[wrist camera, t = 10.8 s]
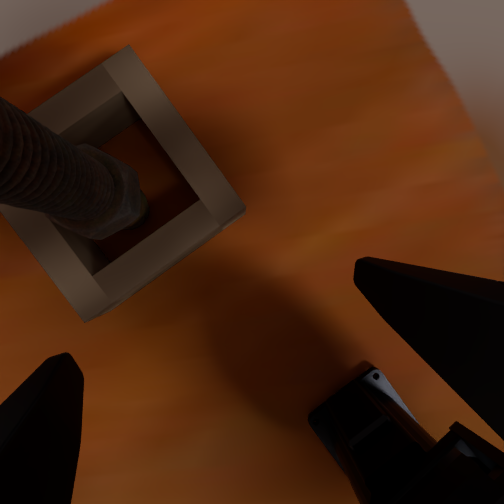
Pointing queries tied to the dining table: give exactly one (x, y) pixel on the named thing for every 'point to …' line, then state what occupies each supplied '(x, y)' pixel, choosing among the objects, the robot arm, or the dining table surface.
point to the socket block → (96, 134)
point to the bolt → (66, 179)
